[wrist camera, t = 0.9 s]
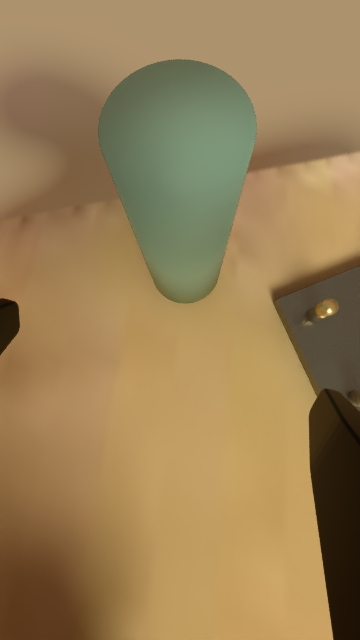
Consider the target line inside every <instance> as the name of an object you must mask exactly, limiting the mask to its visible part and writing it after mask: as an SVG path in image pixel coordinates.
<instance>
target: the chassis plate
mask: <svg viewBox="0 0 360 640" xmlns="http://www.w3.org/2000/svg"><path fill="white" fill-rule="evenodd" d="M273 303H274V306H275V308H276V310H277V312H278V314H279V316H280V318H281V320H282V323H283V325H284V327H285V329H286V331H287V333H288V335H289V337H290V340H291V342H292V344H293V346H294V348H295V350H296V352H297V354H298V357H299V359H300V361H301V363H302V365H303V367H304V369H305V371H306V374H307V376H308V378H309V380H310V382H311V384H312V386H313V388H314V391H315V393H316V395H317V397H318V395H319V393H320V391H321V390H322V389H324V388H328V389H331V390H335V391H338V392H340V393H341V394H342V395H343V396H344V397H345V398H347V399H348V400H349V401H350V402H351V403H352V404H353V405H354V406H355V407H356V408H357V409H358V410H359V411H360V266H358V267H355V268H353V269H350V270H348V271H345V272H343V273H341V274H338V275H336V276H333V277H331V278H328V279H326V280H323V281H321V282H318V283H316V284H313V285H311V286H308V287H306V288H303V289H301V290H298V291H296V292H294V293H291V294H289V295H286V296H284V297H281V298H279V299H277V300H275V301H274V302H273Z"/></svg>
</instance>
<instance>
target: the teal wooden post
mask: <svg viewBox="0 0 360 640" xmlns="http://www.w3.org/2000/svg"><path fill="white" fill-rule="evenodd" d="M256 126H257V124H256V115H255V112H254V108H253V105H252V103H251V100H250V98H249V97H248V95H247V93H246V92H245V90H244V89H243V88H242V87H241V85H240V84H239V83H238V82H237V81H236V80H235V79H234V78H232V77H231V76H230V75H228V74H227V73H226V72H224V71H222V70H220V69H218V68H216V67H214V66H211V65H209V64H206V63H202V62H199V61H193V60H167V61H162V62H157V63H154V64H151V65H148V66H146V67H143V68H141V69H139V70H138V71H136V72H134V73H132V74H131V75H129V76H128V77H127V78H125V79H124V80H123V81H122V82H121V83H120V84H119V85H118V86H117V87H116V88H115V89H114V90H113V91H112V93H111V94H110V96H109V97H108V99H107V101H106V103H105V105H104V107H103V109H102V112H101V116H100V120H99V128H98V133H99V134H98V136H99V143H100V147H101V151H102V154H103V156H104V159H105V161H106V164H107V166H108V169H109V171H110V174H111V176H112V179H113V181H114V184H115V186H116V189H117V191H118V194H119V196H120V199H121V201H122V204H123V206H124V209H125V211H126V214H127V216H128V219H129V221H130V224H131V226H132V229H133V231H134V234H135V236H136V239H137V241H138V244H139V246H140V249H141V251H142V254H143V256H144V259H145V261H146V264H147V266H148V269H149V271H150V274H151V276H152V279H153V281H154V283H155V286H156V287H157V289H158V290H159V292H160V293H161V294H162V295H163V296H165V297H166V298H168V299H169V300H171V301H174V302H177V303H193V302H196V301H199V300H201V299H203V298H204V297H206V296H207V295H208V294H209V293H210V292H211V291H212V290H213V288H214V287H215V285H216V283H217V280H218V276H219V273H220V269H221V265H222V262H223V258H224V254H225V250H226V247H227V243H228V239H229V236H230V232H231V228H232V225H233V221H234V217H235V213H236V210H237V206H238V202H239V199H240V195H241V191H242V187H243V184H244V180H245V176H246V173H247V169H248V165H249V162H250V158H251V154H252V150H253V146H254V143H255V137H256Z"/></svg>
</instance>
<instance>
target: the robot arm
mask: <svg viewBox="0 0 360 640" xmlns="http://www.w3.org/2000/svg"><path fill="white" fill-rule="evenodd" d="M19 328H20V321H19V307H18V304H17V303H16V302H15V301H11V300H8V299H4V298H1V299H0V355H1V354H2V353H3V351H4V350H5V349H6V347H7V346H8V345H9V344H10V342H11V341H12V340H13V339H14V337H15V336H16V335H17V333H18V331H19ZM309 449H310V472H311V480H312V488H313V495H314V502H315V509H316V516H317V524H318V531H319V538H320V545H321V553H322V560H323V567H324V574H325V582H326V589H327V596H328V603H329V610H330V618H331V625H332V632H333V639H334V640H360V411H359V410H358V409H357V408H356V407H355V406H354V405H353V404H352V403H351V402H350V401H349V400H348V399H347V398H345V397H344V396H343V395H342V394H341V393H340V392H338V391H335V390H331V389H328V388H324V389H322V390H321V391H320V393H319V395H318V397H317V399H316V400H315V402H314V404H313V406H312V408H311V410H310V413H309Z"/></svg>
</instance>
